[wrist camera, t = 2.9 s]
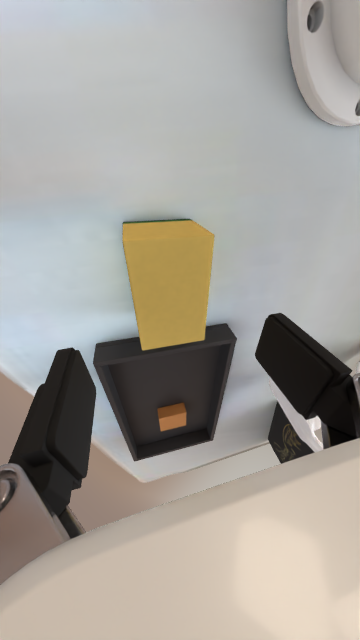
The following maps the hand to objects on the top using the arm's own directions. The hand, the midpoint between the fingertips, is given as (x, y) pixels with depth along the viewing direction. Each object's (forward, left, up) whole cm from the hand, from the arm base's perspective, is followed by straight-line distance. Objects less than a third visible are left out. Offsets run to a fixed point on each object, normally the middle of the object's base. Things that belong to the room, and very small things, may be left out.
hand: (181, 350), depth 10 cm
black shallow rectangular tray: (+19, 0, -9) cm, 21 cm away
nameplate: (+38, +24, -9) cm, 46 cm away
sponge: (-1, 0, -9) cm, 9 cm away
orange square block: (+22, 0, -8) cm, 24 cm away
